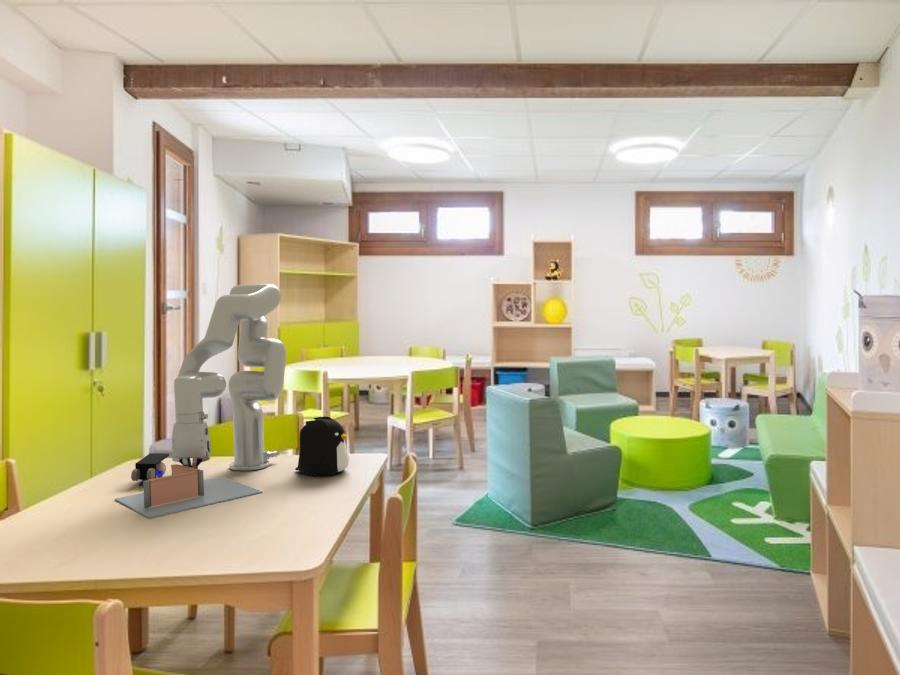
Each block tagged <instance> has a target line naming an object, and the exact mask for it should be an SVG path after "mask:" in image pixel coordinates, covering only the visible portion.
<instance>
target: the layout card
mask: <svg viewBox="0 0 900 675" xmlns="http://www.w3.org/2000/svg"><path fill="white" fill-rule="evenodd" d="M262 493H263V491H262V490H260V489H258V488H255V487H252V486H249V485H246V484H243V483H241V482H238V481H237V480H233V479H231V478H228V477H225V476H219V477H215V478H211V479H205V480H204V496H197V497H193V498H188V499H184V500H179V501H174V502H170V503H165V504H161V505H156V506H151V507H148V508H144V492H141V493H135V494H131V495H126V496H125V495H124V496H121V497H116V498H114V501H116V502H118V503H120V504H122V505H123V506H125V507H127V508H129V509H131V510H133V511H135V512H136V513H138V514H141V515H142V516H144V517H146V518H148V519H152V518H153V519H155V518H157V517H161V516H165V515H166V516H167V515H171V514H175V513H179V512H184V511H188V510H192V509H193V510H194V509H197V508H200V507H206V506H209V505H215V504H220V503H224V502H227V501H233V500H236V499H240V498H246V497H249V496H254V495H258V494H262Z"/></svg>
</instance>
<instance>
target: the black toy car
mask: <svg viewBox="0 0 900 675" xmlns="http://www.w3.org/2000/svg"><path fill="white" fill-rule="evenodd" d="M169 456H170V453H159V452H158V453H155V452H150V453H148V454H147V455H146V456H144V457H142V458H141V459H140V460H138V461H137V462H136V463H135V465H134V469H132V471H131V473H130V474H131V476H130V477H131V478H130V479H131V481H132V482H137V481H141V482H140V483H138V486H139V487H142V486H143V481H146V480H149V479H155V478H160V477H164V475H165V473H166V472H167V467H166V465H165V463H163V461H164V460H165V459H167V458H168V457H169Z"/></svg>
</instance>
